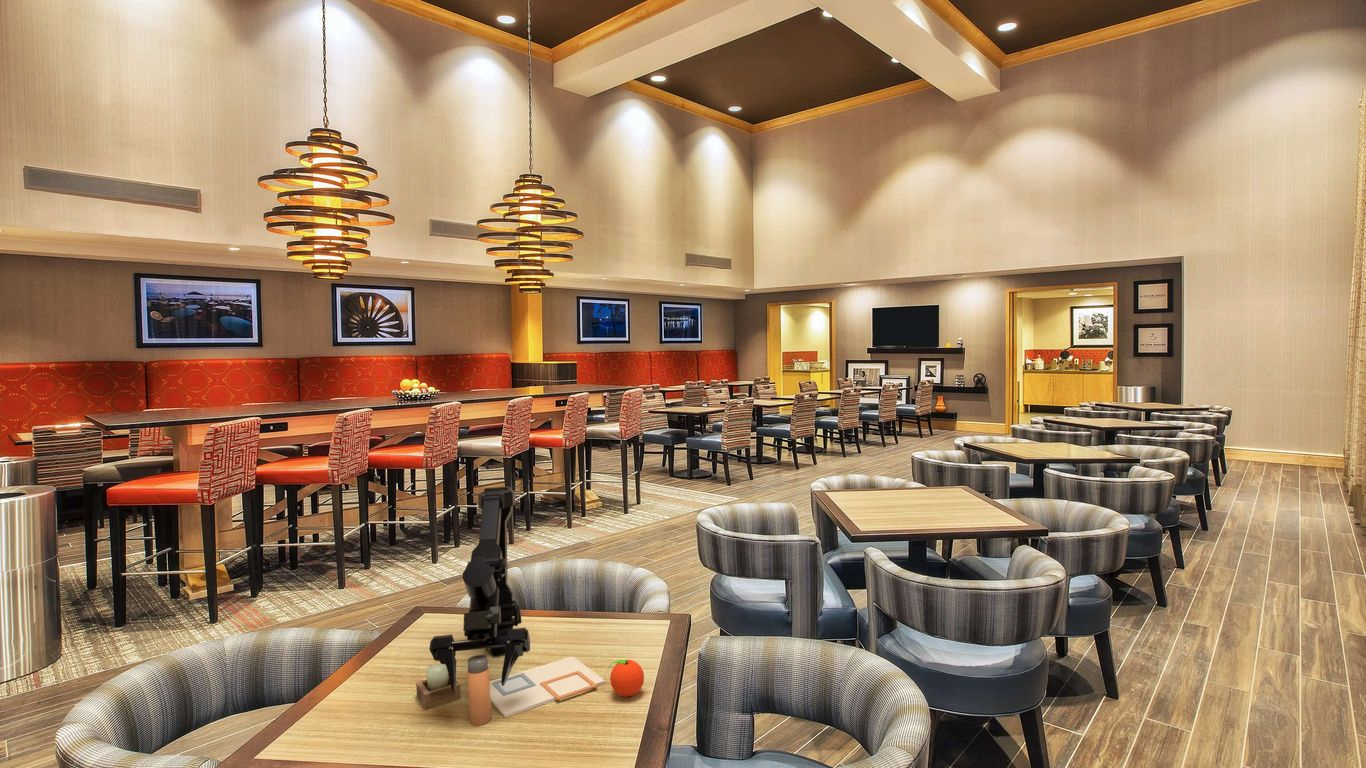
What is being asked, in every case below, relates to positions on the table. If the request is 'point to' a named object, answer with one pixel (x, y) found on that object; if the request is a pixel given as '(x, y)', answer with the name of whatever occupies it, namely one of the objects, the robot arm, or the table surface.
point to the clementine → (626, 677)
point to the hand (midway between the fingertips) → (478, 687)
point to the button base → (436, 694)
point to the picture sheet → (542, 685)
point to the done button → (437, 676)
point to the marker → (479, 690)
